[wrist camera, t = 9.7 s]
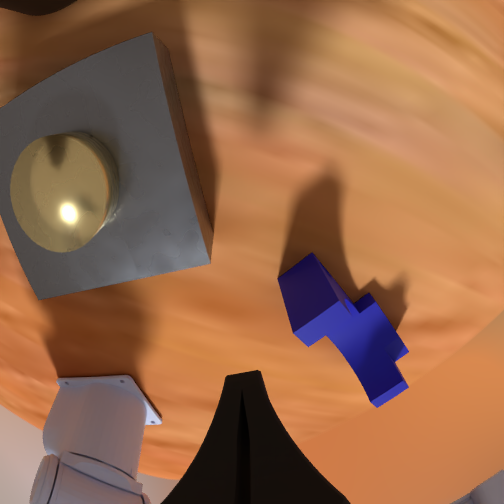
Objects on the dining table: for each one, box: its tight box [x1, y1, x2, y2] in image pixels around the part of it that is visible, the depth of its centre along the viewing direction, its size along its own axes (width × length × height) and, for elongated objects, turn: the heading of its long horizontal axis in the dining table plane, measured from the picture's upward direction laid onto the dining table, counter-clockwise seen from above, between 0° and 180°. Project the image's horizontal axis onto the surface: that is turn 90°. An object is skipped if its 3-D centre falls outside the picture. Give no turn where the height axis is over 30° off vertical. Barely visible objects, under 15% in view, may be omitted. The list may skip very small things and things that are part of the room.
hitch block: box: [0, 32, 214, 300], centre depth 15 cm, size 12×12×4 cm
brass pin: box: [10, 131, 119, 252], centre depth 14 cm, size 6×6×6 cm
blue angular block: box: [278, 253, 409, 408], centre depth 20 cm, size 12×4×6 cm, turn 40°
